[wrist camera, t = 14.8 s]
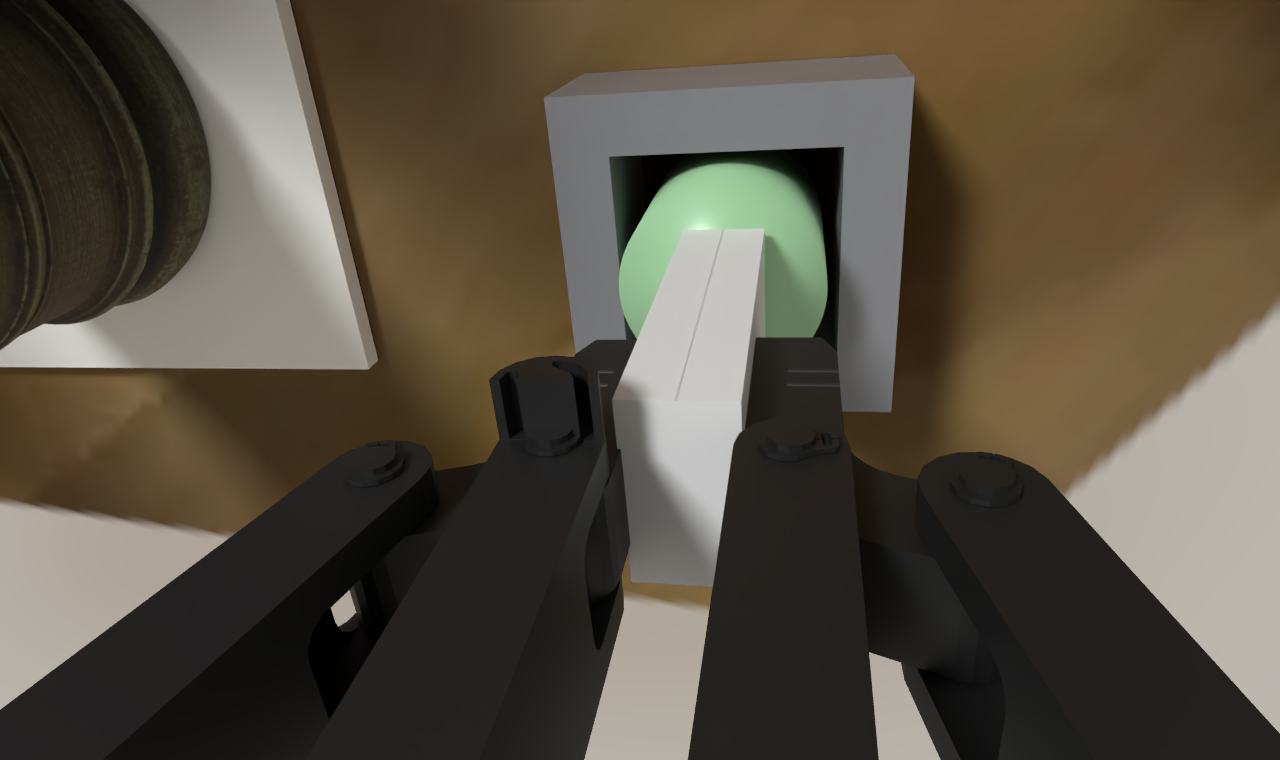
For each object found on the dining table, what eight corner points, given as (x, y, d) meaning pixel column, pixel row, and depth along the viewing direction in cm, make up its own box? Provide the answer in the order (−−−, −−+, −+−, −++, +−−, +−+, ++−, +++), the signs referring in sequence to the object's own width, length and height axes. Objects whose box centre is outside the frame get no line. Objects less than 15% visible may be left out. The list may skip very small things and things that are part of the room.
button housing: (611, 344, 23) (582, 407, 19) (583, 73, 19) (544, 97, 16) (878, 344, 21) (891, 412, 18) (895, 54, 18) (914, 76, 15)
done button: (659, 300, 21) (627, 382, 17) (648, 140, 19) (609, 190, 15) (819, 299, 20) (824, 384, 16) (823, 132, 19) (830, 183, 15)
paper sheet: (-24, 358, 27) (-41, 366, 26) (-278, -156, 20) (-305, -158, 20) (378, 360, 24) (369, 369, 24) (233, -229, 18) (215, -234, 17)
